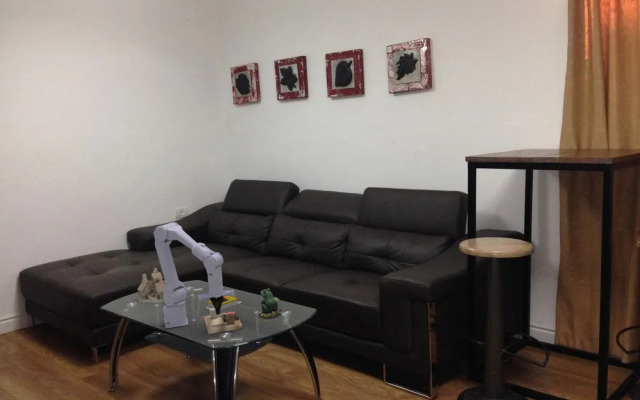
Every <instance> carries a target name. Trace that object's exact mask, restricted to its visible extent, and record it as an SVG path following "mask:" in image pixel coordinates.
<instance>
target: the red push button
mask: <svg viewBox="0 0 640 400" xmlns="http://www.w3.org/2000/svg"><path fill="white" fill-rule="evenodd" d="M224 313H225V317H226V314H230V313H233V314H234V317H235V311H226V312H224Z"/></svg>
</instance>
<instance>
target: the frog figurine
mask: <svg viewBox="0 0 640 400" xmlns="http://www.w3.org/2000/svg"><path fill="white" fill-rule="evenodd" d="M260 295H261V296H262V300H261V301H260V306H261V310H260V311H259V313H258V314H259V317H261V318H262V319H260V318H259V319H256V318H254V320H255V321H259V322H274V321H275V320H276V319H275V318H276V316H277V317H280V316H282V312H281V309H280V308H278V307H279V302H280V299H279V298H278V297H274V295H273V293H272V292H271V290H270V288H267V289H263V290H261V291H260ZM279 315H280V316H279ZM274 317H275V318H274ZM270 320H271V321H270ZM273 320H274V321H273ZM275 322H276V321H275Z"/></svg>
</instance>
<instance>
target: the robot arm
mask: <svg viewBox="0 0 640 400" xmlns="http://www.w3.org/2000/svg"><path fill="white" fill-rule="evenodd" d="M153 237H154V246H155V250H156V253H157V257H158V259H159V265H160V268H161V271H162V276H163V279H164V280H165V282H166V285H165V287H164V289H163V294H164V296H163V300H164V302H163V303H164V304H165V305H163V315H164V318H163V323H164V326H165V329H170V328H176V327H183V326H189V319H188V317H187V307H186V302H187V300H186V299H188V295H189V292H188V289H187V288H186V287H185V284H184V282H182V281H180V280H179V277H178V273H177V270H176V265H175V262H174V258H173V255H172V252H171V247H170V245H171V243H172V241H178V242H180V243H182V245H184V246H186V248H189V250H191V254H192V255H193V256H195V257H196V258H197V259H199V261H201V263H203V267H204V268H205V269H206V274H207V281H208V282H207V283H208V292H206V293H202V294H198V295H197V296H198V297H197V298H198V301H203V300H209V299H210V300H209V301H211V302H212V304H213V306H214V308H215V311H216V315H220V314H221V310H220V309H221V306H222V303H223V300H224V298H223V297H224V296H231V297H235V291H234V289H230V290H229V289H226V290H224V286H223V283H224V282H223V272H222V265H223V263H224V257H223V255H222V254H221V253H220V252H219V251H217V252H215V251H213V250H211V249H210V248H209V247H208V246H206V244H205V243H202V242H196V241H195V240H194V239H193V238H192V237H191V236H190V235H189V234H187V233H186V232H185V231H184V230H183V228H182V226H181V225H179V223H177V222H175V221H172V222H169V223H166V224H162V225H158V226H157V227H155V229H154V230H153Z"/></svg>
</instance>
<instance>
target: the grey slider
mask: <svg viewBox="0 0 640 400" xmlns="http://www.w3.org/2000/svg"><path fill="white" fill-rule="evenodd" d="M208 310H209V315H210V318H217V317H218V315H216V311H215V308H210V309H208Z"/></svg>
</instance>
